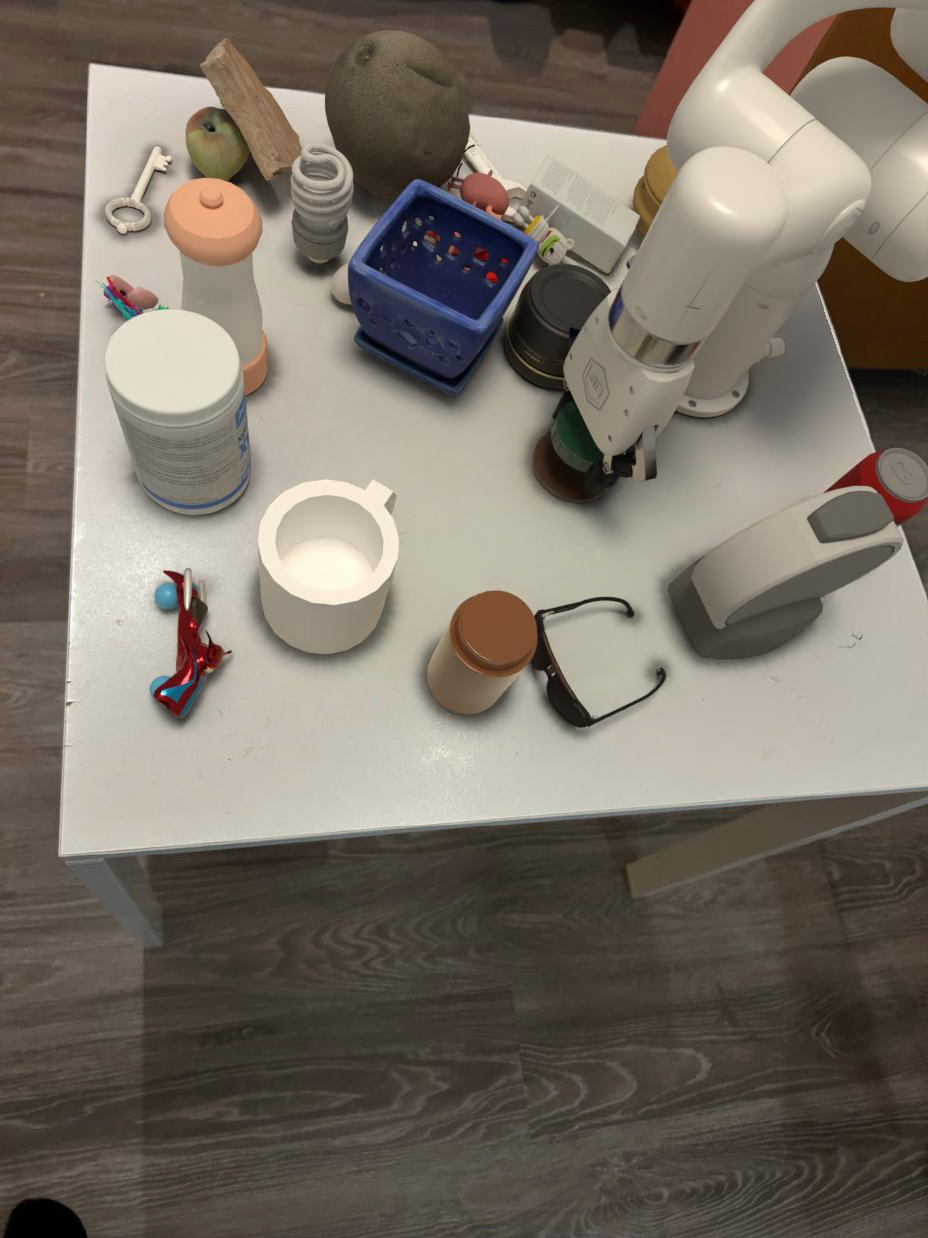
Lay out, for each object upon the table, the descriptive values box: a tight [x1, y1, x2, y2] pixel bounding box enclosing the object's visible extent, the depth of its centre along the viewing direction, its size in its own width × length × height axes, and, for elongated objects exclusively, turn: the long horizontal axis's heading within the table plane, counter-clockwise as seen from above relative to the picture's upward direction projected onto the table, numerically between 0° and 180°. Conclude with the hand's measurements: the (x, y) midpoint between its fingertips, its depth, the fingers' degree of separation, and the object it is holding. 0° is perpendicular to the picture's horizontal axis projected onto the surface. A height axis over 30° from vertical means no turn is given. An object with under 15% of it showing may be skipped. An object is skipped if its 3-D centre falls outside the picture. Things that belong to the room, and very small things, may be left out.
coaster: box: [531, 431, 607, 504], centre depth 79 cm, size 8×8×1 cm
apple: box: [185, 106, 250, 182], centre depth 82 cm, size 6×8×6 cm
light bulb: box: [290, 142, 354, 264], centre depth 77 cm, size 6×6×12 cm
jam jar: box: [426, 589, 537, 716], centre depth 64 cm, size 7×7×12 cm
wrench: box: [464, 130, 528, 223], centre depth 92 cm, size 25×5×2 cm, turn 33°
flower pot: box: [348, 179, 539, 396], centre depth 76 cm, size 13×13×12 cm
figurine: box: [425, 170, 510, 255], centre depth 86 cm, size 12×3×7 cm
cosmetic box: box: [515, 154, 640, 274], centre depth 88 cm, size 6×4×12 cm
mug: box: [257, 479, 400, 655], centre depth 65 cm, size 14×10×11 cm
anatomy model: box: [94, 274, 170, 322], centre depth 72 cm, size 5×8×7 cm, turn 60°
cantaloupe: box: [324, 29, 471, 201], centre depth 82 cm, size 14×14×15 cm
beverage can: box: [821, 447, 928, 528], centre depth 77 cm, size 7×7×12 cm
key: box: [104, 145, 173, 234], centre depth 81 cm, size 12×1×4 cm
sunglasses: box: [530, 596, 667, 729], centre depth 70 cm, size 11×12×5 cm
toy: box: [456, 145, 575, 267], centre depth 84 cm, size 7×3×15 cm
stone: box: [199, 37, 307, 182], centre depth 81 cm, size 13×12×3 cm
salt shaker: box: [163, 177, 269, 396], centre depth 67 cm, size 7×7×19 cm
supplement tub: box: [103, 308, 252, 516], centre depth 65 cm, size 10×10×15 cm
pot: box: [632, 144, 678, 239], centre depth 90 cm, size 12×12×10 cm
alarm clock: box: [667, 486, 905, 660], centre depth 69 cm, size 16×10×18 cm, turn 110°
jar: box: [504, 263, 612, 390], centre depth 81 cm, size 10×10×8 cm
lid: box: [550, 400, 626, 473], centre depth 75 cm, size 7×7×2 cm
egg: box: [330, 261, 382, 306], centre depth 80 cm, size 4×6×4 cm
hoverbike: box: [149, 567, 233, 719], centre depth 63 cm, size 5×12×6 cm
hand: (583, 449), depth 77 cm, fingers closed on lid, 6 cm apart
